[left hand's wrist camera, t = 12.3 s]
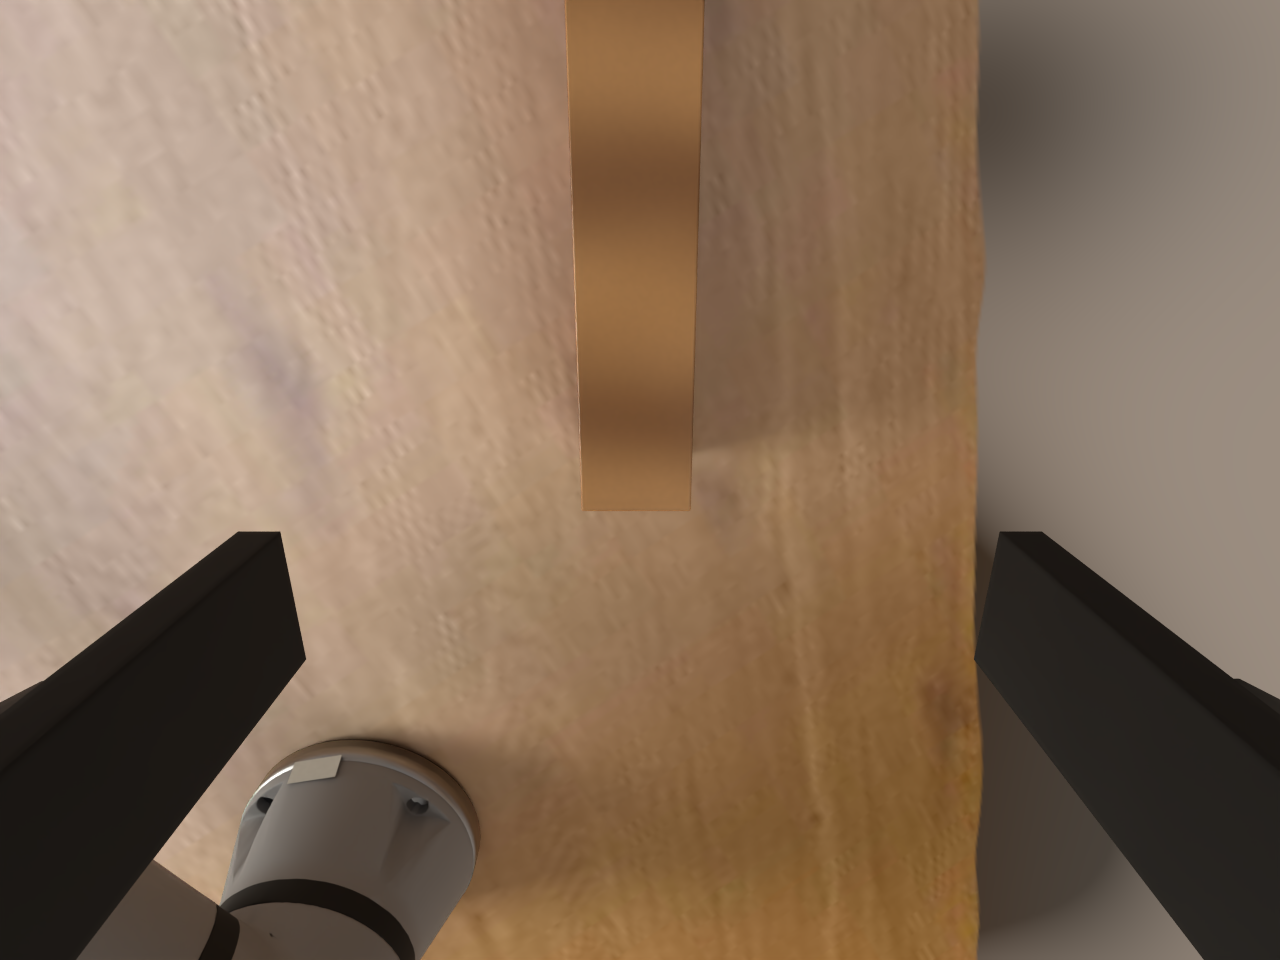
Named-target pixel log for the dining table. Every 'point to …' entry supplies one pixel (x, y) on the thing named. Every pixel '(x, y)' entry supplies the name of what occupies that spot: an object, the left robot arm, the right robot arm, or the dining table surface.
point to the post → (635, 244)
